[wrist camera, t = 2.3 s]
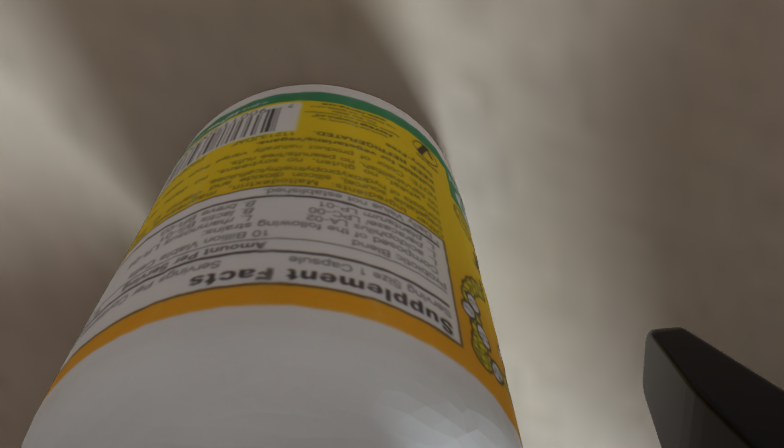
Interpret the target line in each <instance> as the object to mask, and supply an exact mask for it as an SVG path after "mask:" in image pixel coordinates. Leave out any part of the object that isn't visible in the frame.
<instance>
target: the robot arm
mask: <svg viewBox="0 0 784 448" xmlns="http://www.w3.org/2000/svg"><path fill="white" fill-rule="evenodd" d="M643 388H644V394H645V398H646V401H647V404H648V407H649V410H650V413H651V416H652V419H653V423H654V426H655V429H656V432H657V435H658V438H659V441H660V444H661V447H662V448H784V390H782V389H780V388H779V387H777V386H775V385H774V384H772V383H771V382H769V381H767V380H766V379H764V378H763V377H761V376H759V375H758V374H756V373H755V372H753V371H751V370H750V369H748V368H747V367H745V366H743V365H742V364H740V363H739V362H737V361H735V360H734V359H732V358H730V357H729V356H727V355H726V354H724V353H722V352H721V351H719V350H718V349H716V348H714V347H713V346H711V345H710V344H708V343H706V342H705V341H703V340H702V339H700V338H698V337H697V336H695V335H694V334H692V333H690V332H689V331H687V330H685V329H683V328H680V327H674V328H665V329H655V330H652V331H650V332H649V333H648V335H647V338H646V345H645V358H644V371H643Z"/></svg>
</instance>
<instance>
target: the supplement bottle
mask: <svg viewBox="0 0 784 448" xmlns="http://www.w3.org/2000/svg"><path fill="white" fill-rule="evenodd" d="M21 448H523V446H522V442H521V437H520V433H519V429H518V425H517V421H516V417H515V412H514V408H513V404H512V400H511V396H510V392H509V388H508V384H507V380H506V375H505V368H504V364H503V361H502V357H501V354H500V349H499V344H498V339H497V336H496V332H495V328H494V325H493V321H492V317H491V312H490V308H489V304H488V300H487V297H486V293H485V290H484V287H483V284H482V281H481V275H480V271H479V266H478V260H477V256H476V254H475V249H474V245H473V242H472V238H471V233H470V228H469V224H468V221H467V217H466V214H465V209H464V205H463V202H462V199H461V196H460V194H459V191H458V188H457V185H456V182H455V180H454V177H453V175H452V172H451V170H450V167H449V165H448V163H447V161H446V159H445V157H444V155H443V153H442V152H441V150H440V148H439V147H438V145H437V144H436V143H435V141H434V140H433V139H432V138H431V136H430V135H429V134H428V132H427V131H426V130H425V129H424V128H423V127H421V126H420V125H419V124H418V123H417V122H416V121H415V120H414V119H412V118H411V117H410V116H409V115H407V114H406V113H404V112H403V111H401V110H400V109H398V108H396V107H395V106H393V105H391V104H389V103H387V102H385V101H383V100H381V99H379V98H377V97H374V96H371V95H369V94H366V93H363V92H360V91H356V90H352V89H348V88H344V87H339V86H332V85H321V84H308V85H295V86H286V87H280V88H276V89H272V90H268V91H264V92H261V93H258V94H255V95H252V96H250V97H248V98H246V99H244V100H242V101H240V102H238V103H236V104H234V105H232V106H231V107H229V108H227V109H226V110H224V111H223V112H222V113H220V114H219V115H218V116H216V117H215V118H214V119H212V120H211V121H210V122H209V123H208V124H207V125H206V126H205V127H204V128H203V129H202V130H201V131H200V132H199V133H198V134H197V135H196V137H195V138H194V139H193V140H192V142H191V143H190V144H189V146H188V147H187V149H186V150H185V152H184V153H183V155H182V156H181V157H180V159H179V161H178V162H177V164H176V165H175V167H174V169H173V171H172V172H171V174H170V176H169V178H168V179H167V181H166V183H165V185H164V187H163V189H162V191H161V192H160V194H159V196H158V198H157V200H156V201H155V203H154V206H153V208H152V210H151V212H150V213H149V215H148V217H147V219H146V221H145V223H144V224H143V226H142V228H141V230H140V232H139V233H138V235H137V237H136V239H135V240H134V242H133V244H132V245H131V247H130V249H129V251H128V252H127V254H126V256H125V258H124V260H123V261H122V263H121V265H120V266H119V268H118V269H117V271H116V273H115V274H114V276H113V278H112V280H111V281H110V283H109V285H108V287H107V289H106V290H105V292H104V294H103V296H102V297H101V299H100V301H99V302H98V304H97V306H96V308H95V309H94V311H93V313H92V315H91V316H90V318H89V320H88V321H87V323H86V325H85V327H84V328H83V330H82V332H81V334H80V335H79V337H78V339H77V341H76V342H75V344H74V346H73V348H72V350H71V351H70V353H69V355H68V357H67V358H66V360H65V362H64V364H63V365H62V367H61V369H60V371H59V373H58V375H57V376H56V378H55V380H54V382H53V384H52V385H51V387H50V389H49V391H48V393H47V394H46V396H45V398H44V400H43V402H42V403H41V405H40V407H39V409H38V411H37V412H36V414H35V416H34V419H33V421H32V423H31V425H30V427H29V430H28V432H27V434H26V436H25V438H24V441H23V443H22V446H21Z"/></svg>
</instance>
